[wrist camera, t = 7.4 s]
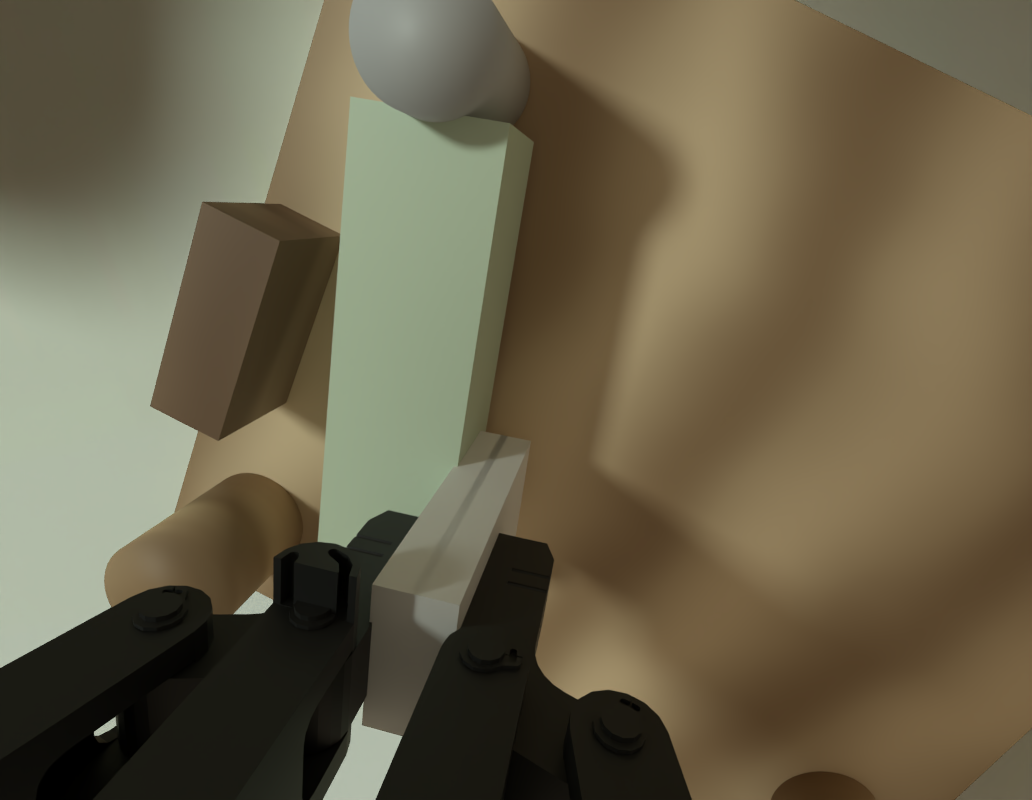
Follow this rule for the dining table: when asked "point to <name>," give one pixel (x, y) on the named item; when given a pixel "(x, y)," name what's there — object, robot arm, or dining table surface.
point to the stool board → (691, 387)
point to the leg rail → (421, 251)
